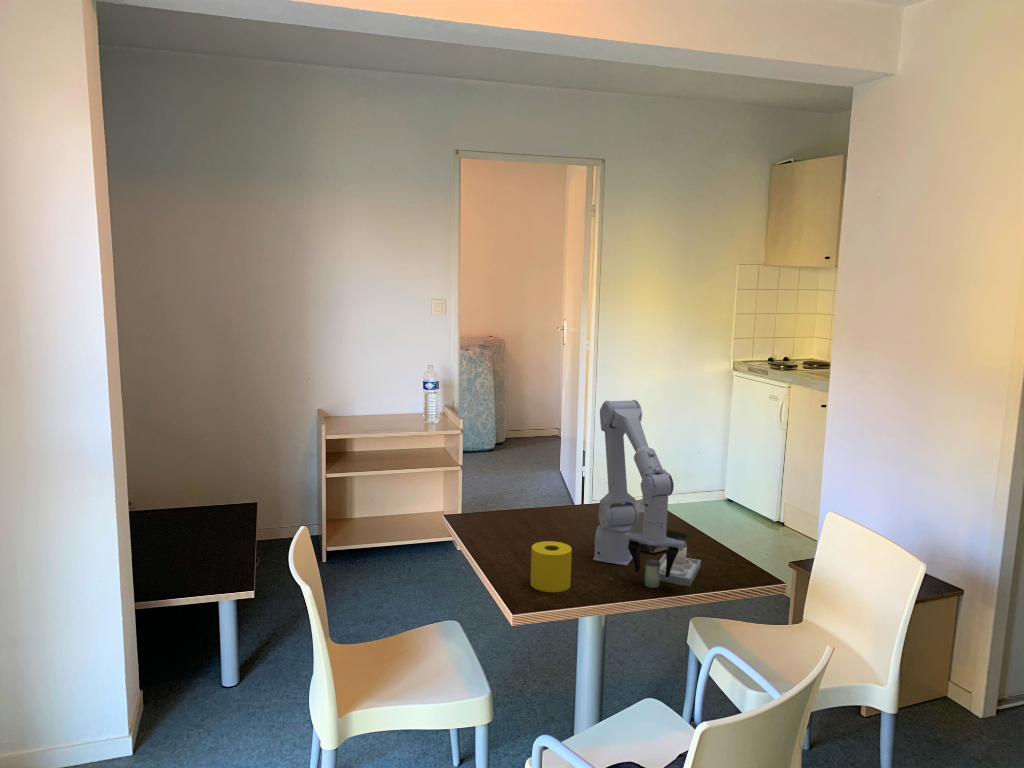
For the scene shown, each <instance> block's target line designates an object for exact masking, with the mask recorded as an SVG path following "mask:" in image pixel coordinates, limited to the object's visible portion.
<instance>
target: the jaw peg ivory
mask: <svg viewBox="0 0 1024 768" xmlns="http://www.w3.org/2000/svg"><path fill="white" fill-rule="evenodd" d="M687 550H688V544H687V543H684V549H683V551H679V552H678V554H677V556H676V558H675V560H674V562H673V564H679V565H685V564H686V558H687V554H688V551H687Z"/></svg>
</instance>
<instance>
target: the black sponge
mask: <svg viewBox="0 0 1024 768" xmlns="http://www.w3.org/2000/svg"><path fill="white" fill-rule="evenodd" d="M666 537H669V538H672V539H676V540H680V541H684V543H686V544H687V543H688V535H687V534H685V533H683V532H679V531H673V530H666ZM668 549H669V548H666V547H660V546H653V545H647V544H642V546H641V551H645V552H648V553H651V554H654V553H660V552H662V551H667V550H668Z"/></svg>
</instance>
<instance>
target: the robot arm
mask: <svg viewBox="0 0 1024 768" xmlns="http://www.w3.org/2000/svg"><path fill="white" fill-rule="evenodd" d="M642 418H643V410H642V406H641V404H640V403H639V401H638V400H637V399H632V400H605V401H603V403H602V405H601V407H600V408H599V422H600V430H601V431H602V432H604V441H605V456H606V457H605V458H606V473H607V488H608V492H607V494H605V495H604V496H603V497H602V498H601V499H600V500H599V509H598V513H597V514H598V522H599V524H600V525H598V526H597V527H596V531H595V536H594V554H593V555H594V557H593V561H597V562H602V563H603V562H604V563H609V564H615V565H618V566H619V565H621V566H628V565H629V564H630V562H631V561H632V562H633V564H634V571H635V572H636V573H638V572H639V571H641V552H642V550H641V546H642V544H647V545H653V546H660V547H666V548H669V549H667V550H665V551H666V552H665V554H666V558H667V565H666V577H669V576H670V572H671V568H672V565H673V562H674V560H675V558H676V556H677V554H678V552H679V551H683V549H684V541H680V540H676V539H672V538H669V537H666V531H667V530H668V529H667V524H668V509H669V505H668V504H669V496H671V495H672V494H673V492H674V490H675V489H674V487H675V486H674V484H675V483H674V480H673V477H672V475H671V473H669V472H668V471H666V470H667V469H664V468H663V467H662V464H661V462H660V460H659V457H658V455H657V453H656V450H655V449H654V448H652V447H650V446H649V444H648V441H647V438H646V435H645V432H644V428H643V426H642V423H641V422H642ZM625 434H626V437H627V439H628V440H629V442H630V444H631V446H632V447H633V450H634V452H635V453H634V456H633V461H634V462H635V465H636V468H637V469H638V470H637V471H638V473H639V476H640V478H641V482H640V490H641V493H642V498H641V499H642V500H643V502H644V503H645V504H644V524H643V534H639V533H631V530H632V529H634V526H635V525H636V524H637V522H638V519H639V512H638V509H637V506H636V501H637V499H636V498H635V497H634V496H632V495H631V494H629V492H628V484H627V483H628V482H627V469H626V453H625V438H624V435H625ZM622 503H625V504H622Z"/></svg>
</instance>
